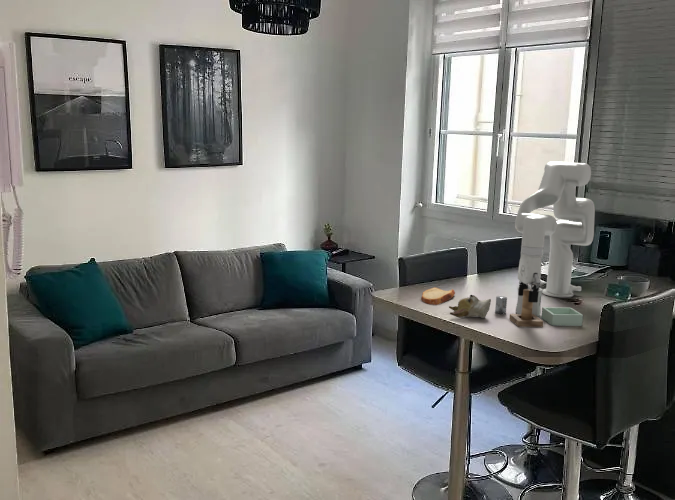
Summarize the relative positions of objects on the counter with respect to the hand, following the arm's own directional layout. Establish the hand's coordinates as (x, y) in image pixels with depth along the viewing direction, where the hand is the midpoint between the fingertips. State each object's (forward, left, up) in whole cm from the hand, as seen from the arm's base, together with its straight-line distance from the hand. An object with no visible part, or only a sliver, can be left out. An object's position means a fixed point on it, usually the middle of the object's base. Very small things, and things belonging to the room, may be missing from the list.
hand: (527, 298), depth 234 cm
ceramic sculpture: (+18, -8, -9) cm, 22 cm away
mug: (-6, -14, -9) cm, 18 cm away
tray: (-14, -2, -9) cm, 17 cm away
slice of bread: (+23, -34, -10) cm, 43 cm away
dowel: (0, 0, -9) cm, 9 cm away
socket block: (0, 0, -9) cm, 9 cm away
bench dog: (+5, -13, -9) cm, 17 cm away
